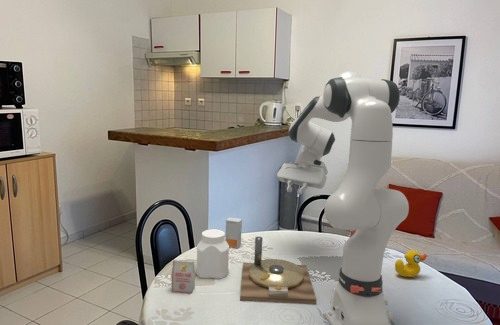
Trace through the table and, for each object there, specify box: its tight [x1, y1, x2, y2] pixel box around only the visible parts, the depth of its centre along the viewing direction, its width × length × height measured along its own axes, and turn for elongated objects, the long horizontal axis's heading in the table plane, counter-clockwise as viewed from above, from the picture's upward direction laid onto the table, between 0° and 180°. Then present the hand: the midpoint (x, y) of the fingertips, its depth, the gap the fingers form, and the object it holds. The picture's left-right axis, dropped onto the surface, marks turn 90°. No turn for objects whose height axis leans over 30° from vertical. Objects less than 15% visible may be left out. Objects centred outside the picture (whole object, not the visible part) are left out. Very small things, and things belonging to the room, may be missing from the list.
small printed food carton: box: [171, 260, 196, 294], centre depth 118 cm, size 4×7×10 cm, turn 85°
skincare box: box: [225, 216, 243, 249], centre depth 155 cm, size 6×4×12 cm
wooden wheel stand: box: [239, 262, 317, 305], centre depth 125 cm, size 24×24×4 cm
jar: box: [196, 228, 230, 280], centre depth 131 cm, size 12×10×15 cm
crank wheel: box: [249, 236, 304, 289], centre depth 126 cm, size 19×19×12 cm
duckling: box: [394, 249, 427, 278], centre depth 134 cm, size 11×5×10 cm, turn 96°
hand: (293, 192), depth 142 cm, fingers open, 3 cm apart
